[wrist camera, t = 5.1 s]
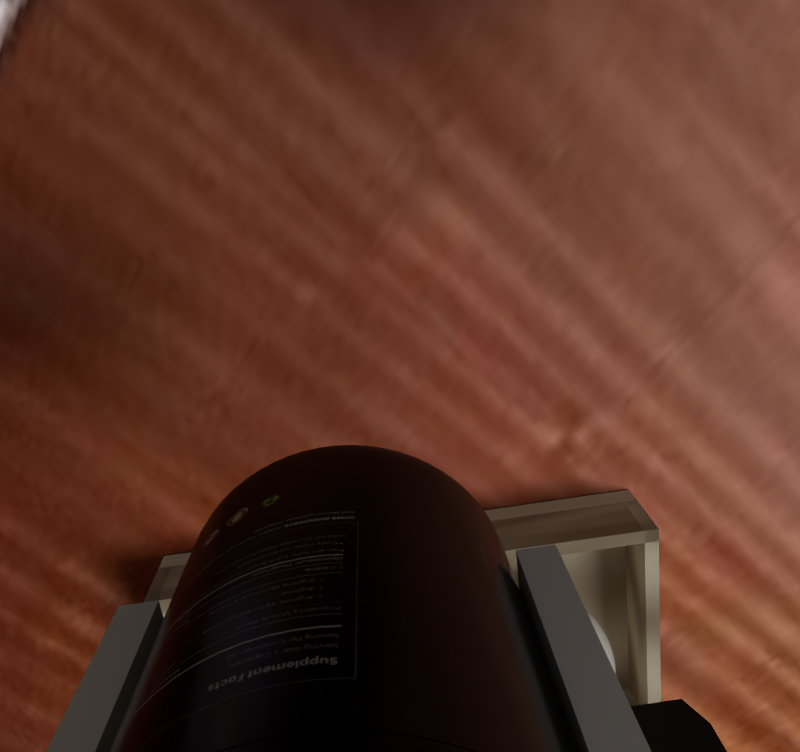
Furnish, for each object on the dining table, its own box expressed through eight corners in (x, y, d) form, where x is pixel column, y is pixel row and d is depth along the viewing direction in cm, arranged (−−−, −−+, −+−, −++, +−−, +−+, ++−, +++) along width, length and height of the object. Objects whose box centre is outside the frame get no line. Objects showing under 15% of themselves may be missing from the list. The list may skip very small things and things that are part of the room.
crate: (164, 556, 34) (142, 602, 30) (629, 489, 34) (658, 528, 31) (254, 888, 41) (245, 956, 37) (638, 831, 41) (663, 893, 38)
